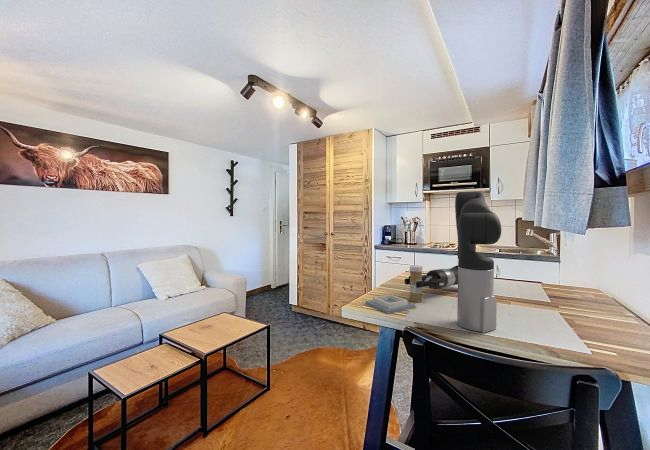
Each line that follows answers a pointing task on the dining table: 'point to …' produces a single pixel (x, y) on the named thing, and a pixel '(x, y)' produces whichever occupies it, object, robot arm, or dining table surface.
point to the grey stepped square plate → (390, 304)
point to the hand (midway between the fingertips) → (411, 283)
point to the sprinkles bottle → (414, 277)
